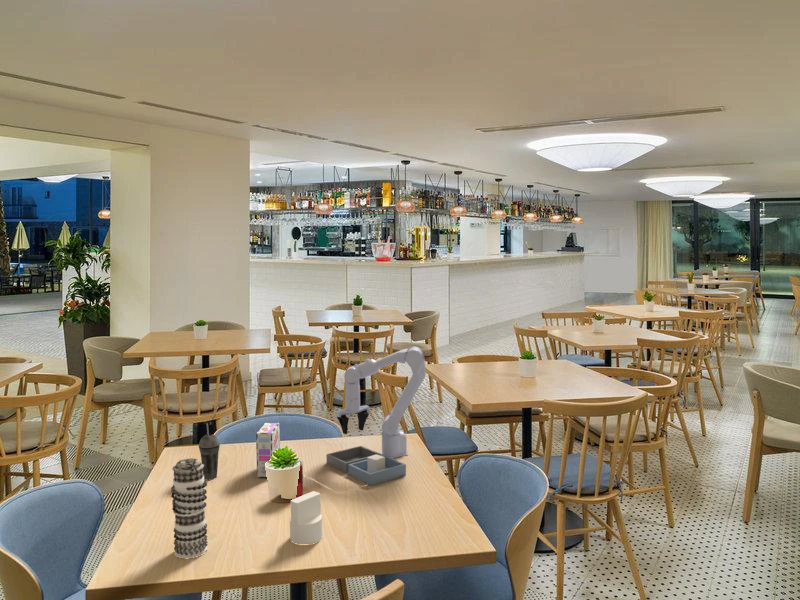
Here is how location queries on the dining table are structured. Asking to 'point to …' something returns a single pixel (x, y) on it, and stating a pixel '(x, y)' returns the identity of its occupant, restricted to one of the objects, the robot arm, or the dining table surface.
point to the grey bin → (349, 457)
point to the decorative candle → (189, 508)
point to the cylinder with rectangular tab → (306, 519)
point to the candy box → (266, 445)
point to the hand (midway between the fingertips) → (353, 431)
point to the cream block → (375, 463)
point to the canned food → (300, 481)
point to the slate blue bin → (390, 472)
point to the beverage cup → (209, 454)
